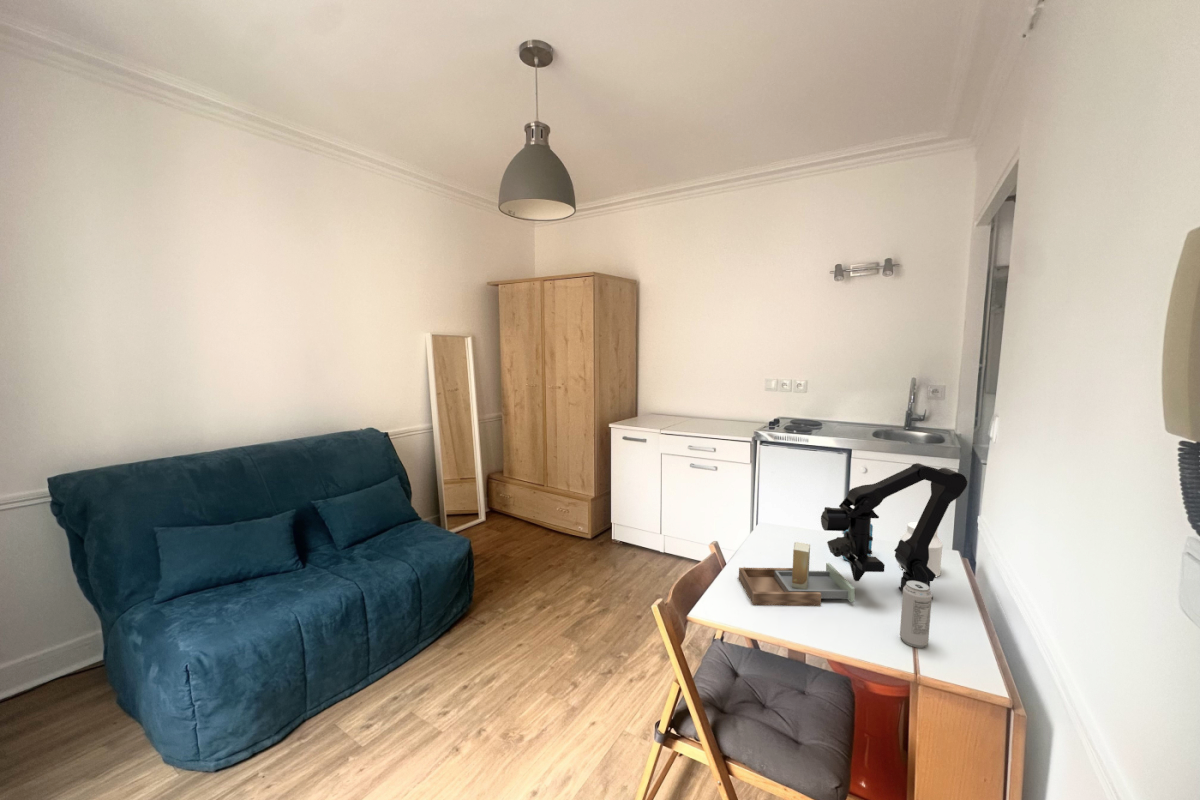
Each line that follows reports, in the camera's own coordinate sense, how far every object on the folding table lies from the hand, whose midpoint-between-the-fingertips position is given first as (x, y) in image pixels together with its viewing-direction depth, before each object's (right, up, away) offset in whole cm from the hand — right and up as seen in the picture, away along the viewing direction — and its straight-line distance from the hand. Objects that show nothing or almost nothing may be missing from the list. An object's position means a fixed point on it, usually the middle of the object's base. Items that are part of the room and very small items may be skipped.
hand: (856, 580), depth 146 cm
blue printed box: (+13, -1, +24) cm, 27 cm away
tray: (-13, -2, +1) cm, 14 cm away
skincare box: (-17, -2, +1) cm, 17 cm away
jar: (+29, -2, +14) cm, 32 cm away
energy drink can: (+2, -7, -24) cm, 25 cm away
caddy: (-23, -4, +1) cm, 23 cm away
